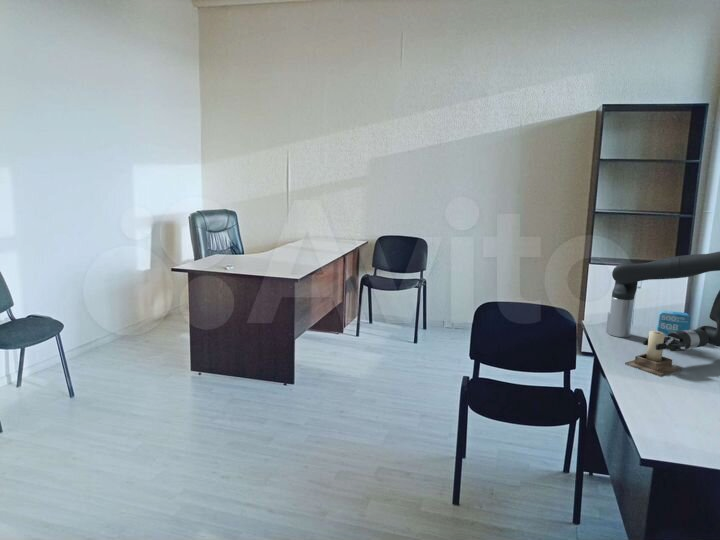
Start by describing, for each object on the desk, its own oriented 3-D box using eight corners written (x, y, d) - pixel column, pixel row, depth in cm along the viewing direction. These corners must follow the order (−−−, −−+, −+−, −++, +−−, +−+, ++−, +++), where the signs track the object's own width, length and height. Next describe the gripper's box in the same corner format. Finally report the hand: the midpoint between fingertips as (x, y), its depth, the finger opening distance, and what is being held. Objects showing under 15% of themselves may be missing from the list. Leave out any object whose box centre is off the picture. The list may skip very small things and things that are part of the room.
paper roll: (643, 359, 216) (646, 331, 213) (651, 357, 218) (654, 329, 216) (656, 363, 211) (659, 335, 209) (664, 361, 214) (667, 333, 212)
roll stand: (624, 364, 218) (625, 355, 217) (646, 358, 225) (647, 349, 224) (659, 376, 206) (660, 367, 205) (681, 369, 213) (682, 360, 212)
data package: (656, 338, 250) (660, 312, 248) (655, 335, 255) (659, 309, 252) (687, 342, 246) (691, 315, 243) (686, 339, 250) (689, 313, 247)
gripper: (668, 325, 224) (636, 329, 218) (701, 336, 211) (667, 341, 205) (666, 343, 226) (634, 348, 220) (698, 355, 213) (665, 360, 207)
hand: (650, 344), depth 213 cm, fingers closed on paper roll, 5 cm apart
